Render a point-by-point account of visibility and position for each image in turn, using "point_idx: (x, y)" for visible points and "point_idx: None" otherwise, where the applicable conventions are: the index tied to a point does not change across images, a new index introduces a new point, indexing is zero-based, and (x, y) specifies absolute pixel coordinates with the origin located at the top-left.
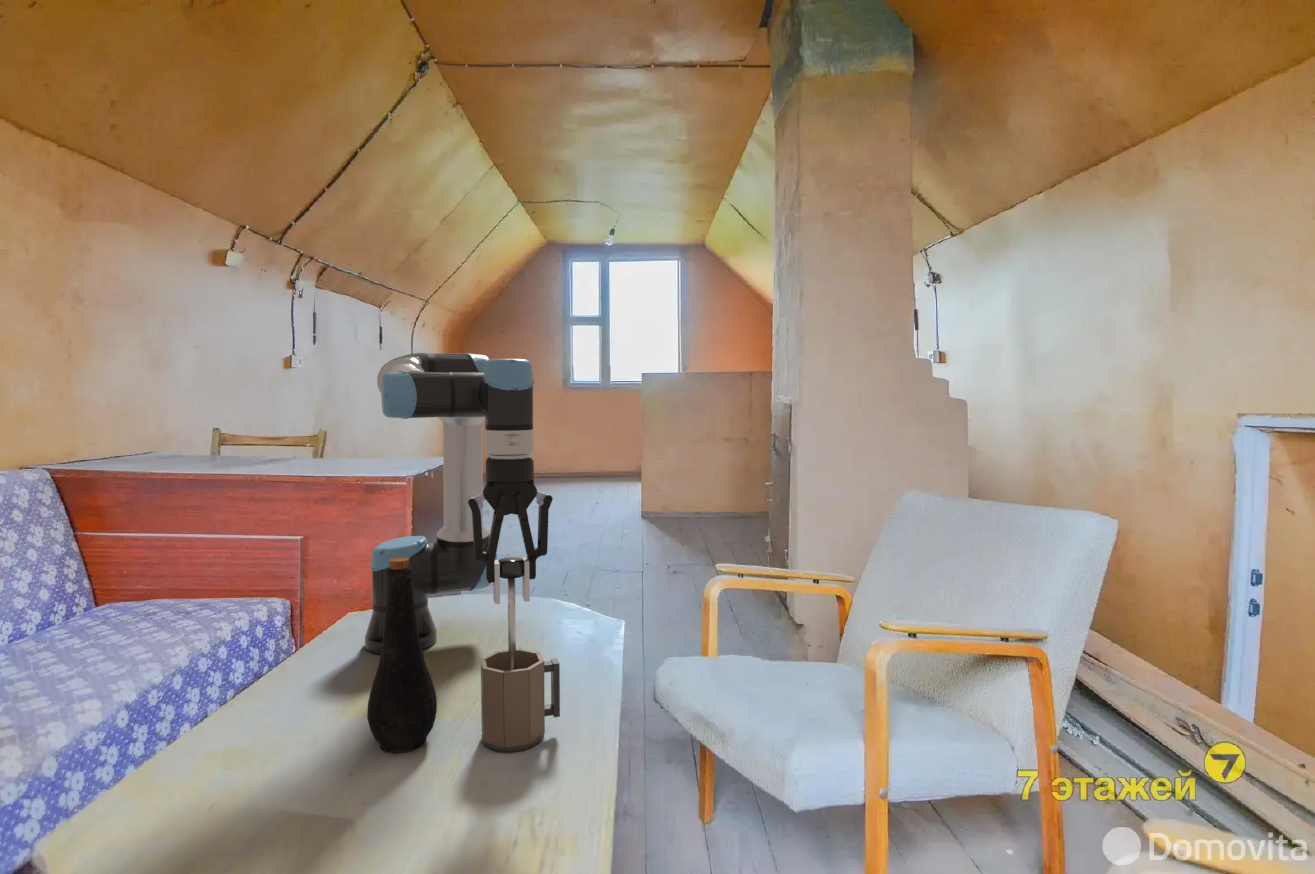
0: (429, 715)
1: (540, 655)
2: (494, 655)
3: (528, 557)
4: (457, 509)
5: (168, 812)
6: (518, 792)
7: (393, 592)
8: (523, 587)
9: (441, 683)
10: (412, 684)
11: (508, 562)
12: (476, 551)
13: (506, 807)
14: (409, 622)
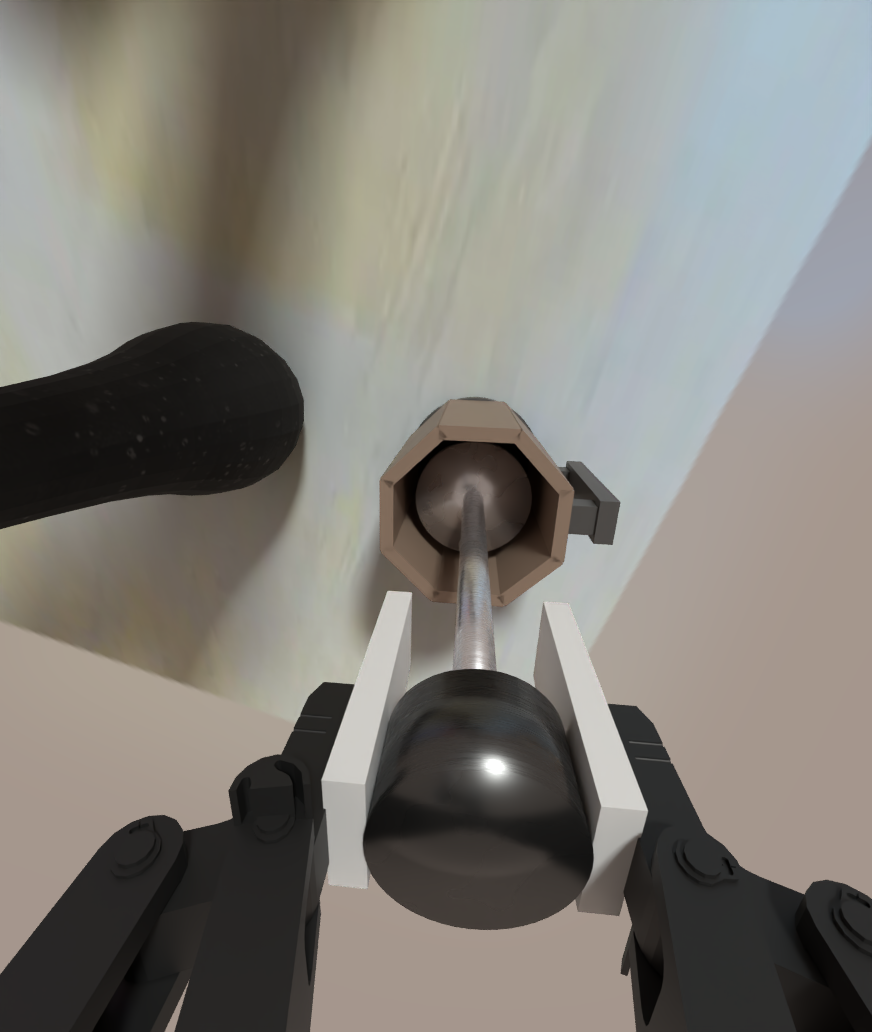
0: (283, 461)
1: (567, 516)
2: (427, 453)
3: (633, 924)
4: None
5: None
6: (445, 638)
7: None
8: (548, 674)
9: (327, 20)
10: (204, 491)
11: (438, 908)
12: (102, 1018)
13: (422, 665)
14: (52, 511)
